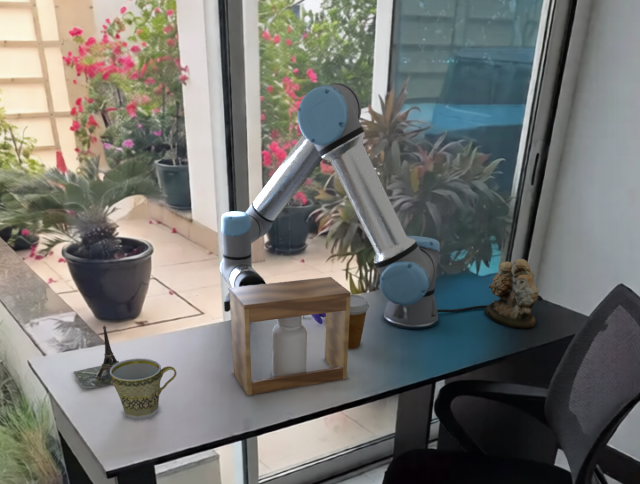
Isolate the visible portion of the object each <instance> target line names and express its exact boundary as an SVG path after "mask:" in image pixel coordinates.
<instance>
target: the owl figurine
mask: <svg viewBox="0 0 640 484" xmlns="http://www.w3.org/2000/svg"><path fill="white" fill-rule="evenodd" d="M498 267H499V269H498V272H497V273H496V275H495V276H494V278H493V279H492V283H490V284H489V285H488V288H489V289H491V293H492V294H493V295H494V296H496V297H498V298H499V299H497V300H494V301H493V302H491V303H490V304H487V305H488V306H487V307H486V308H485V312H484V313H485V315H486V316H488V318H489V319H490V320H492V321H493V322H495V323H497V324H499V325H503V326H505V327H509V328H514V329H520V330H521V329H522V330H525V329H531V328H533V327H536V323H537V321H536V318H535V316H534V315H533V313H531V309H532V308H533V307H534V306H535V304H536V303H537V301H538V299H539V298H538V297H537V296H538V295H539V289H538V287H537V286H536V284H535V276H536V275H535V272H534V271H533V270H532V269H531V266H530V263H529V262H528V261H527V260H526V259H524V258H518V259H515V260H514V261H513V263H512V262H511V261H502V262H501V263H500V264H499V266H498Z"/></svg>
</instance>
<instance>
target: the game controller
mask: <svg viewBox="0 0 640 484" xmlns="http://www.w3.org/2000/svg"><path fill="white" fill-rule="evenodd" d="M322 318H324V319H325V320H326V313H322V314H314V315H311V317H310V319H314V320H315V322H316V323H318V324H319V325H323V319H322ZM302 319H303V320H304V319H305V320H306V319H307V317H306V318H305V316H302Z"/></svg>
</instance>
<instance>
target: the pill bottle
mask: <svg viewBox="0 0 640 484" xmlns="http://www.w3.org/2000/svg"><path fill="white" fill-rule="evenodd" d="M302 320H303V316H298V317H290V318H283V319H277V324H276V325H275V326H274V327H273V328H272V331H271V373H272V378H273V377H279V376H285V375H291V374H297V373H304V372H307V360H308V359H307V357H308V356H307V354H308V353H307V352H308V330H307V328H306V327H305V326H304V325H303V324H302V323H303V321H302Z"/></svg>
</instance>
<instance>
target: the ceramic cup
mask: <svg viewBox="0 0 640 484" xmlns="http://www.w3.org/2000/svg"><path fill="white" fill-rule="evenodd" d="M168 371H173V372H174V374H173V376H171V378H169V379H168V380H167V381H166V382H165V383H164V384H163V386H161V380H162V378H163V375H164V374H165V373H166V372H168ZM110 376H111V379H112V381H113V384H112V385H113V386H114V389H115V390H116V393H117V394H118V397H119V400H120V402H121V405H122V408H123V412H124V414H125V417H126V418H128V419H132V420H136V421H139V420H146V419H151V418H153V417H154V416H155V415H156V414H157V413H158V412H159V401H160V395H161V393H162V391H163V390H164V389H165V388H166V387H167V386H168V385H169V384H170V383H171V382H172V381H173V380H174V379H175V378H176V376H177V370H176V368H175V367H173V366H165V367H163V368H162V365H161V364H160V363H159V362H157V361H156V360H154V359H149V358H129V359H126V360H125V359H124V360H121V361H119V363H117V364H115V365H114V366H112V367H111V369H110Z"/></svg>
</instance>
